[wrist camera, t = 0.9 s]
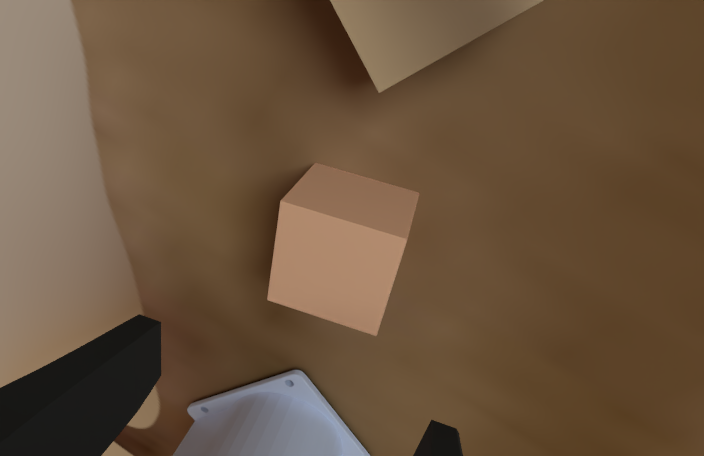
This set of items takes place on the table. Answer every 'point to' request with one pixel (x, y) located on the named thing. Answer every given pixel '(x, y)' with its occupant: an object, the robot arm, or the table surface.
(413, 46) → the slab upper
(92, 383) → the robot arm
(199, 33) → the table surface
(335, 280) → the block
